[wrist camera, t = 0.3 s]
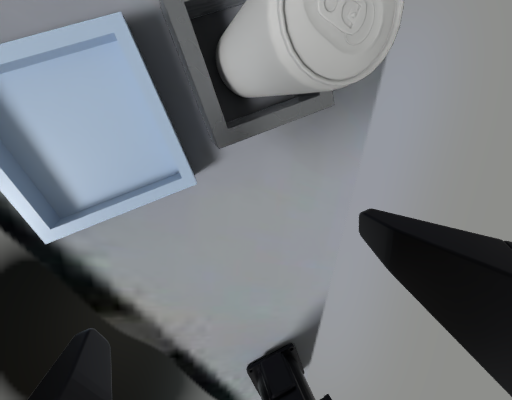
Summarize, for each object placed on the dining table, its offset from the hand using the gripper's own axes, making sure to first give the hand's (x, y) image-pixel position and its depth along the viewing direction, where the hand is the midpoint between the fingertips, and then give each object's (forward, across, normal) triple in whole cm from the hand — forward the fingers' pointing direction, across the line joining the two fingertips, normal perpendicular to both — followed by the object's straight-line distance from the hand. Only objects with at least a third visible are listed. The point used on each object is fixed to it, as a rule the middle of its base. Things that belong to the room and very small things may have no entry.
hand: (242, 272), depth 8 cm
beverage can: (+15, -6, -5) cm, 17 cm away
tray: (+14, +6, -3) cm, 16 cm away
